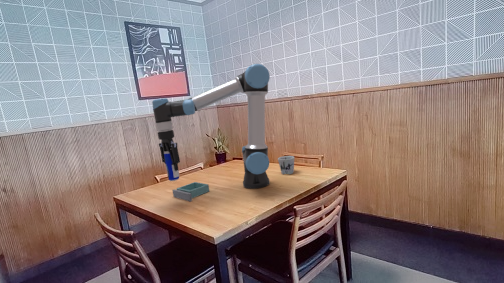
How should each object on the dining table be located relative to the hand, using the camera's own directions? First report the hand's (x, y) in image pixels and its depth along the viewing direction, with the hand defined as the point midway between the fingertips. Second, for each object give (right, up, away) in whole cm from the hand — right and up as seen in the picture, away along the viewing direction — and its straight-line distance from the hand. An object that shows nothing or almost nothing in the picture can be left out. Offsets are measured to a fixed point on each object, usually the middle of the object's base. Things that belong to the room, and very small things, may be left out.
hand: (173, 176), depth 139 cm
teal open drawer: (+6, -12, +17) cm, 21 cm away
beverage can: (0, -2, 0) cm, 2 cm away
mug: (+62, -2, +38) cm, 73 cm away
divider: (+2, -13, +9) cm, 16 cm away
